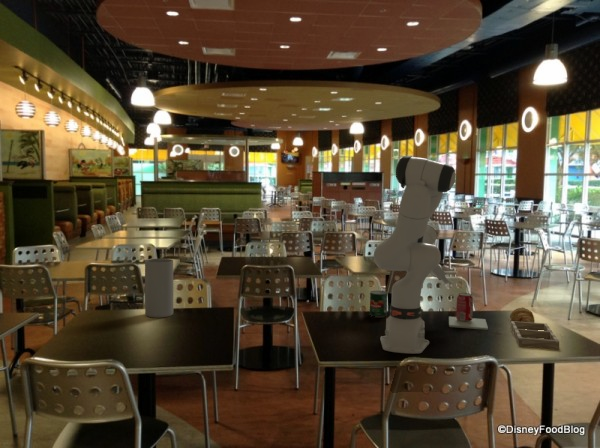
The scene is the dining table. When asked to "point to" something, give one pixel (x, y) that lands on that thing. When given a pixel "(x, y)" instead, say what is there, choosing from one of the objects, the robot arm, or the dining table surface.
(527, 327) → the drink caddy
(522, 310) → the croissant
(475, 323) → the coaster mat
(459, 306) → the soda can
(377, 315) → the canned tomato
